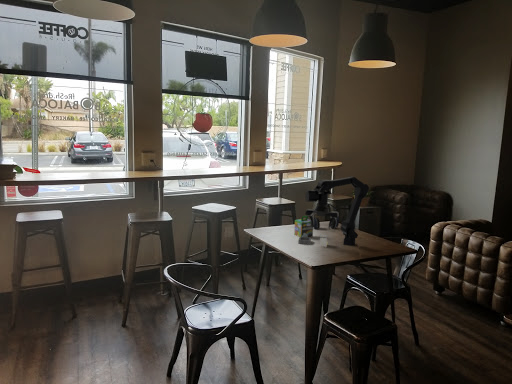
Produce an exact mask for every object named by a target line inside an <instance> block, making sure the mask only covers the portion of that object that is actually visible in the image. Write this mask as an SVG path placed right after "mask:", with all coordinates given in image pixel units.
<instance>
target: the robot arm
mask: <svg viewBox="0 0 512 384" xmlns="http://www.w3.org/2000/svg"><path fill="white" fill-rule="evenodd" d="M346 185H351V186H352V187H353V188H354V191H353V195H354V198H353V200H352V204H351V207H350V209H349V212H348V215H347V217H346V219H345V220H342V221H341V225H340V231H341V232H342V235H343V236H344V237H343V241H342V242H343V245H344V246H348V247H351V246H356V239H357V238H358V235H359V234H358V232H356V230H355V229H356V218H357V217H358V213H359V211H360V207H361V205H362V201H363V199H364V198H365V197H366V196H367V195H368V193H369V190H370V186H369V185H368V184H367V183H366V184H365V183H364V182H362V181H361V180H359V179H358V178H356V176H347V177H342V178H337V179H320V180H318V182H317V184H316V186H315V187H314V188H313V189H307V190H306V192H305V195H304V199H305V202H309V203H313V202H315V203H316V202H317V206H316V207H317V209H316V211H314V210H315V208H314V209H313V208H307V209H306V210H305V215H304V216H308V217H309V220H311V222H312V226H313V228H314V218H315V215H316V216H318V217H325V216H330V217H329V224H328V229H331V227H330V225H331V223H332V221H333V219H335V218H338V215H339V214H340V213H339V211H337V212H336V211H333V210H331V211H329V207H328V206H329V205H328V204H329V195H333V194H332V192H331V191H330V190H332V189H334V188H336V187H341V186H346Z"/></svg>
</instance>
